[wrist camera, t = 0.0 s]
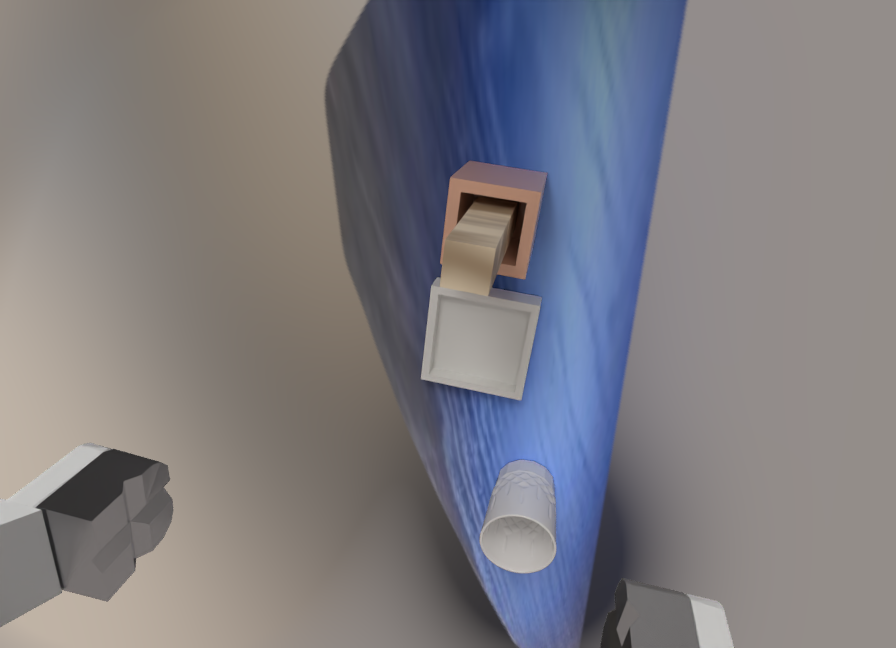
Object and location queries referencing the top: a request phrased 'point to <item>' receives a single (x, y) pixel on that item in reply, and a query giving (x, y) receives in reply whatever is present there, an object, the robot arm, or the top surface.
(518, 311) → the grey tray
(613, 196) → the top surface
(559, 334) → the top surface
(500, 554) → the white cup
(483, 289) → the birch stick
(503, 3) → the top surface
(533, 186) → the terracotta cup
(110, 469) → the robot arm
